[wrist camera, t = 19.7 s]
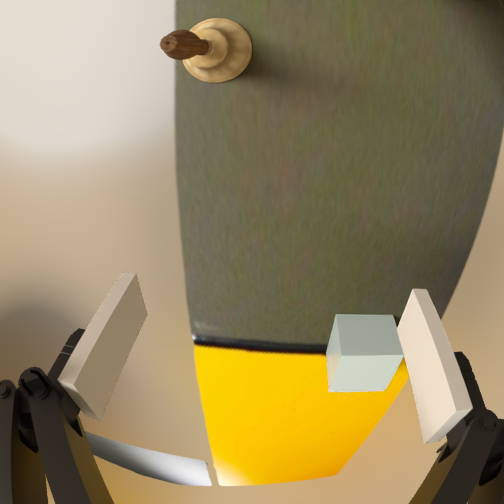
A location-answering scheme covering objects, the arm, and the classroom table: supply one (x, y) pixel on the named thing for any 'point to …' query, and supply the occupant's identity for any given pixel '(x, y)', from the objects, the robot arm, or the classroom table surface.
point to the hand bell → (211, 49)
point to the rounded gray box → (362, 353)
